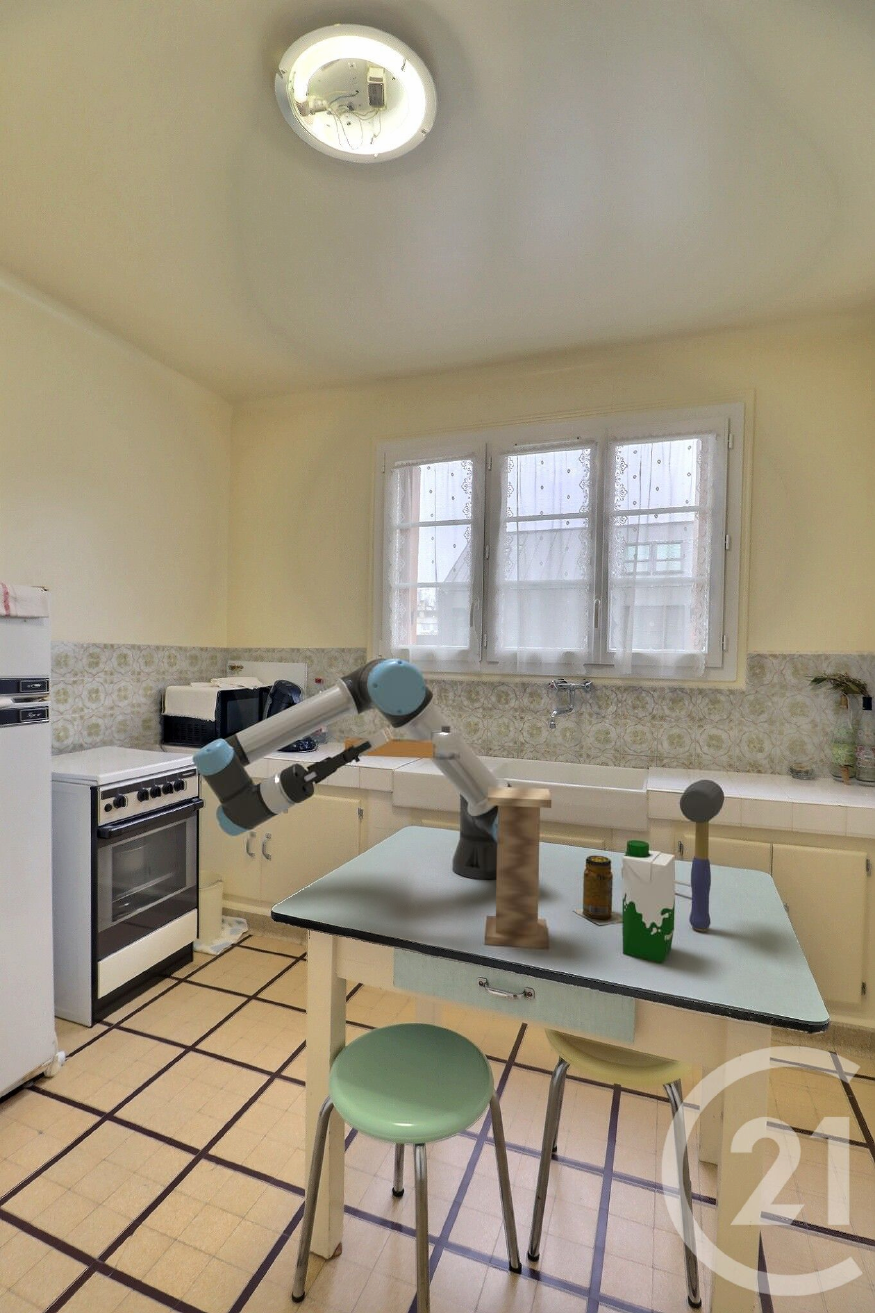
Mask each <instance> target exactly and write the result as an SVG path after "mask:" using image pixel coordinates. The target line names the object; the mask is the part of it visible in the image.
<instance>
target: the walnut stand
mask: <svg viewBox="0 0 875 1313" xmlns="http://www.w3.org/2000/svg"><path fill="white" fill-rule="evenodd" d="M487 805H498V833H497V878H496V883H495V884H496V890H495V891H496V892H495V893H496V894H495V915H486V921H485V930H484V945H488V946H490V945H491V946H502V947H517V948H518V947H521V948H530V947H531V948H530V949H532V948H533V949H547V950H548V949H549V934H548V925H547V919H546V918H544V919H543V918H539V884H540V883H539V882H540V881H539V879H540V878H539V876H540V874H539V873H540V872H539V871H540V835H541V834H540V828H541V826H540V823H541V809H542V808H543V809H544V808H545V809H546V808H547V809H552V797H551V794H550V790H549V788H535V787H534V788H529V787H513V786H512V787H489V791H488V797H487Z"/></svg>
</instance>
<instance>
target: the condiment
mask: <svg viewBox="0 0 875 1313" xmlns="http://www.w3.org/2000/svg"><path fill="white" fill-rule="evenodd" d="M582 878H583V880H582V881H583V886H582V887H583V888H582V908H581V909H578V908H577V909H573V912H575V913H577V914H578V915H579V916H581V917H583V918H585V919H588V920H589V921H591V922H592V923H595V924H597V925H598V926H604V925H605V926H606V925H612V924H616V923H620V922H621V923H622V916H620V915H618V914H617V913H614V912H613V883H614V882H613V880H614V875H613V872H612V861H611V858H609V857H606V856H603V855H594V854H593V855H589V856H587V857H586V858H585V869H584V870H583V876H582Z"/></svg>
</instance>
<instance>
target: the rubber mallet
mask: <svg viewBox="0 0 875 1313" xmlns="http://www.w3.org/2000/svg"><path fill="white" fill-rule="evenodd" d="M724 801H725V793H724V791H723V789H722V787H721V786H720V785H719V784H718V783H716V782H715V781H713V780H710V779H700V780H697V781H695V782H693V783H691V784H690V785H689V786H688V787H686V788H685V790H684V791H683V793H682V795H681V797H680V800H679V808H680V811H681V813H682V815H683V816H684V817H685V818H686V819H687V820H689V821H691V822H693V823H695V835H694V837H695V838H694V839H695V840H694V856H693V858H692V863H691V871H690V883H691V910H690V915H689V919H688V920H689V921H688V922H689V923H690V925H691V926H692V929H693V930H695V931H698V932H707V931H708V929H709V928H710V926H711V924H712V923H711V917H710V891H711V886H712V877H711V876H712V875H711V874H712V873H711V872H712V871H711V864H710V859H709V840H710V839H709V835H710V834H709V827H710V826H709V825H710V821H711V820H712V819H714V818H715V817H716V816H718V815H719V813H720V812H721V810H722V809H723V807H724Z"/></svg>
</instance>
